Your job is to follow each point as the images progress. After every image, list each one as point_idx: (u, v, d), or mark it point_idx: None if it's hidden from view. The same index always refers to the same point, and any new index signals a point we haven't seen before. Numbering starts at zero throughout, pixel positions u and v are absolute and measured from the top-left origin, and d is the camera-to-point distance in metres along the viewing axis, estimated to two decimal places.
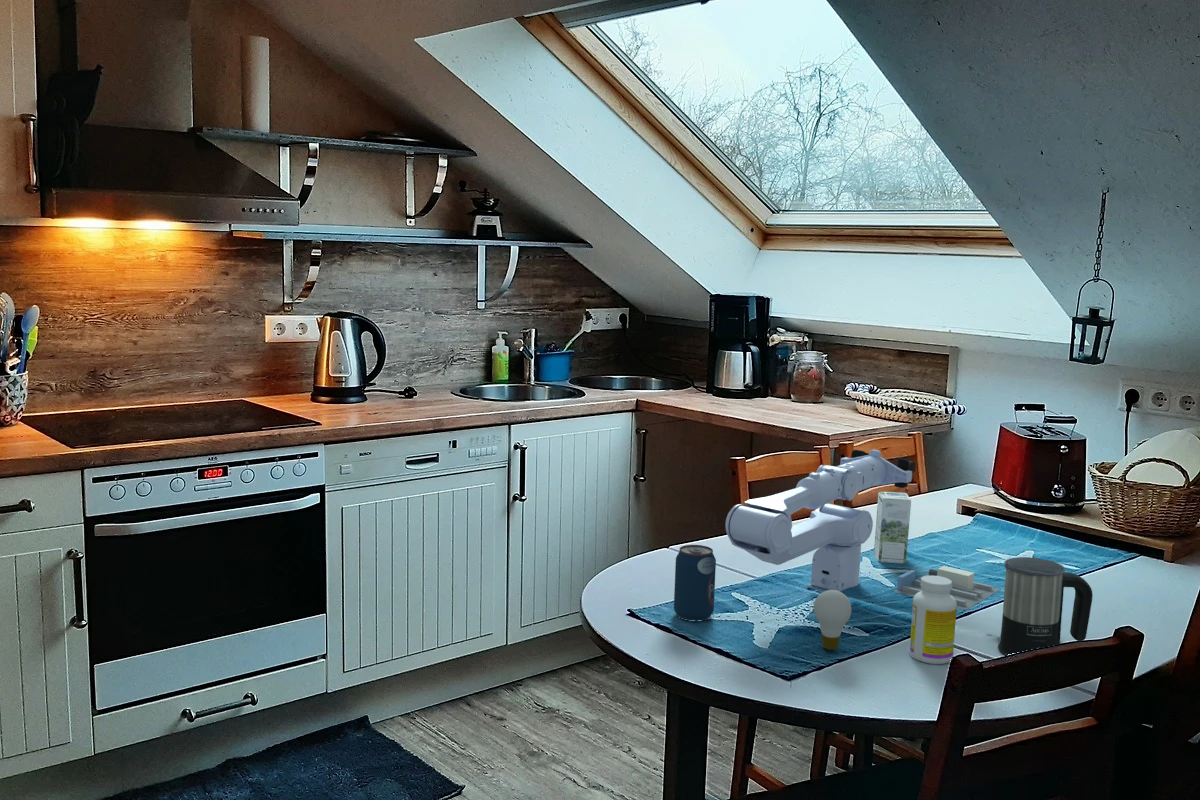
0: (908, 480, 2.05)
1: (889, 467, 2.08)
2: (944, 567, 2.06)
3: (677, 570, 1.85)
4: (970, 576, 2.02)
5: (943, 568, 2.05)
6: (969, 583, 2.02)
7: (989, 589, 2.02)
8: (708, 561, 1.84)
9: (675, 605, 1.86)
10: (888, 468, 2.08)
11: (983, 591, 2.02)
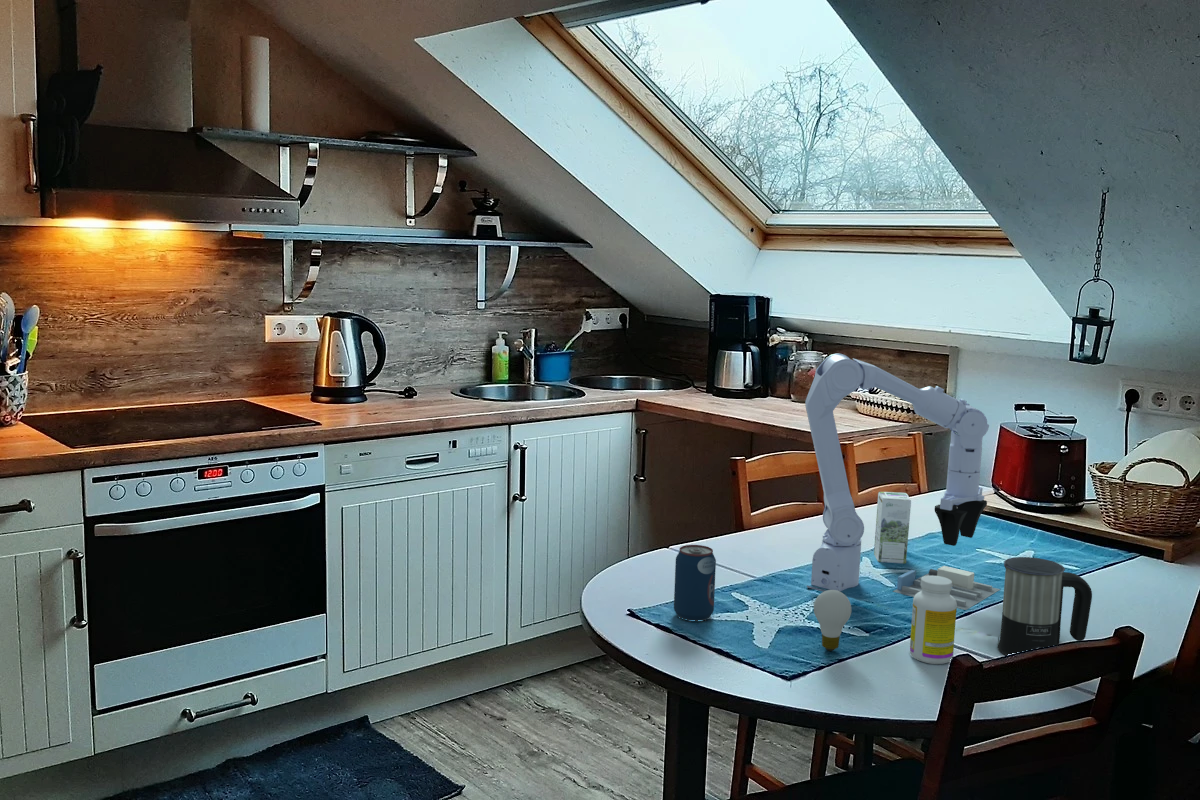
0: (942, 501, 1.97)
1: None
2: (944, 567, 2.06)
3: (677, 570, 1.85)
4: (970, 576, 2.02)
5: (943, 568, 2.05)
6: (969, 583, 2.02)
7: (989, 589, 2.02)
8: (708, 561, 1.84)
9: (675, 605, 1.86)
10: (960, 498, 1.99)
11: (983, 591, 2.02)
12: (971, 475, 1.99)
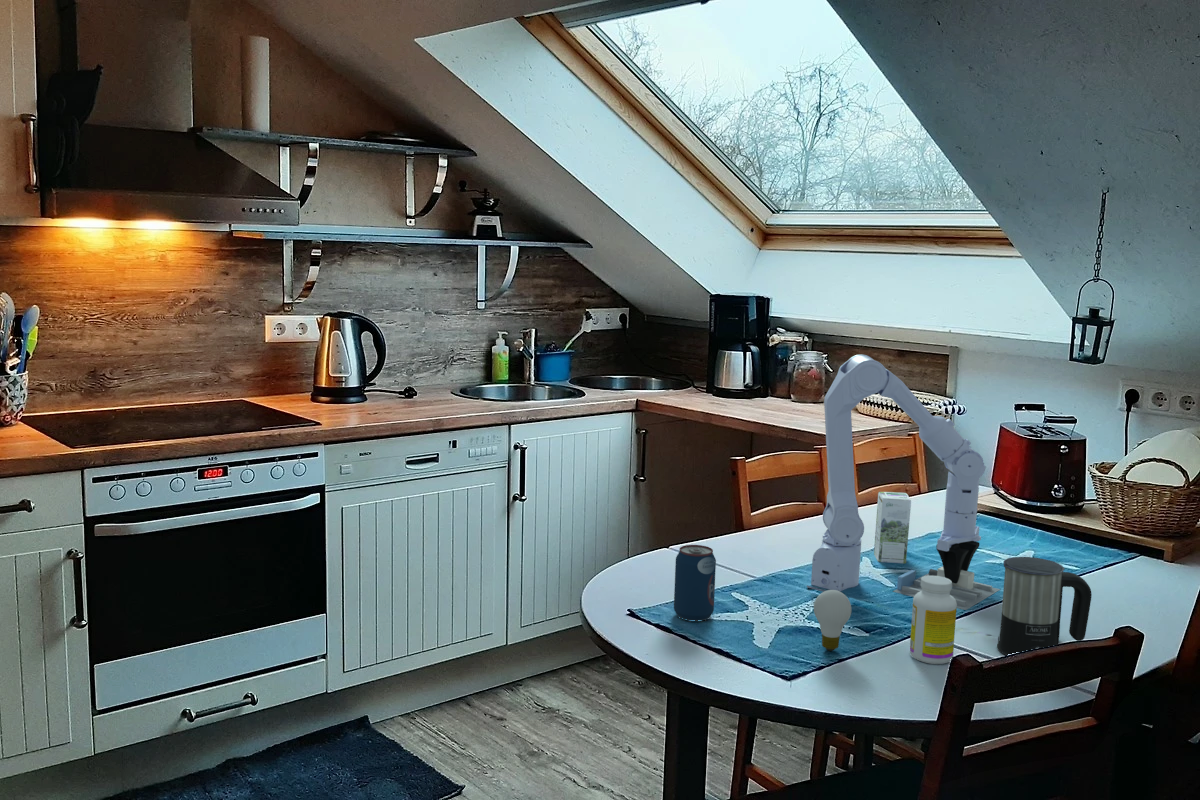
0: (939, 542, 1.98)
1: None
2: None
3: (677, 570, 1.85)
4: (970, 576, 2.02)
5: None
6: (969, 583, 2.02)
7: (989, 589, 2.02)
8: (708, 561, 1.84)
9: (675, 605, 1.86)
10: (957, 538, 2.00)
11: (983, 591, 2.02)
12: (968, 516, 2.00)
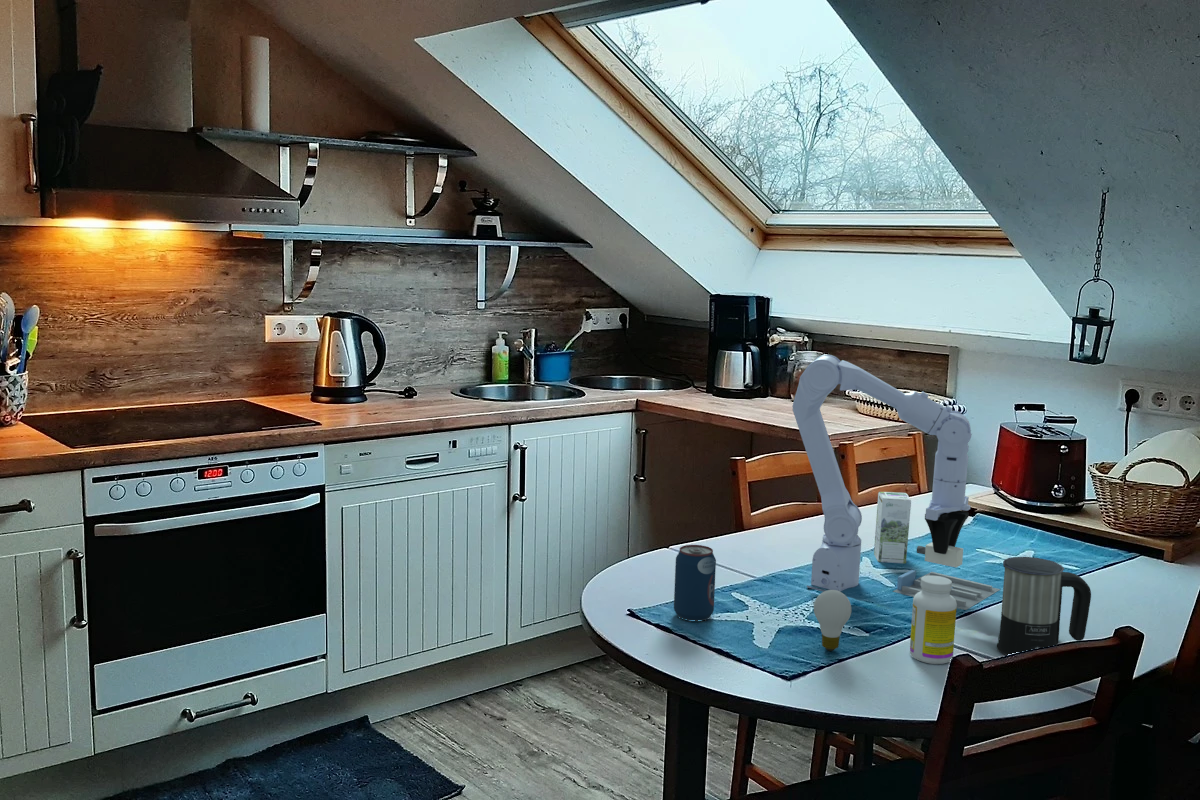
0: (927, 511, 1.92)
1: None
2: (932, 543, 2.01)
3: (677, 570, 1.85)
4: (959, 552, 1.97)
5: (931, 544, 2.00)
6: (958, 559, 1.97)
7: (989, 589, 2.02)
8: (708, 561, 1.84)
9: (675, 605, 1.86)
10: (945, 508, 1.95)
11: (983, 591, 2.02)
12: (957, 484, 1.94)
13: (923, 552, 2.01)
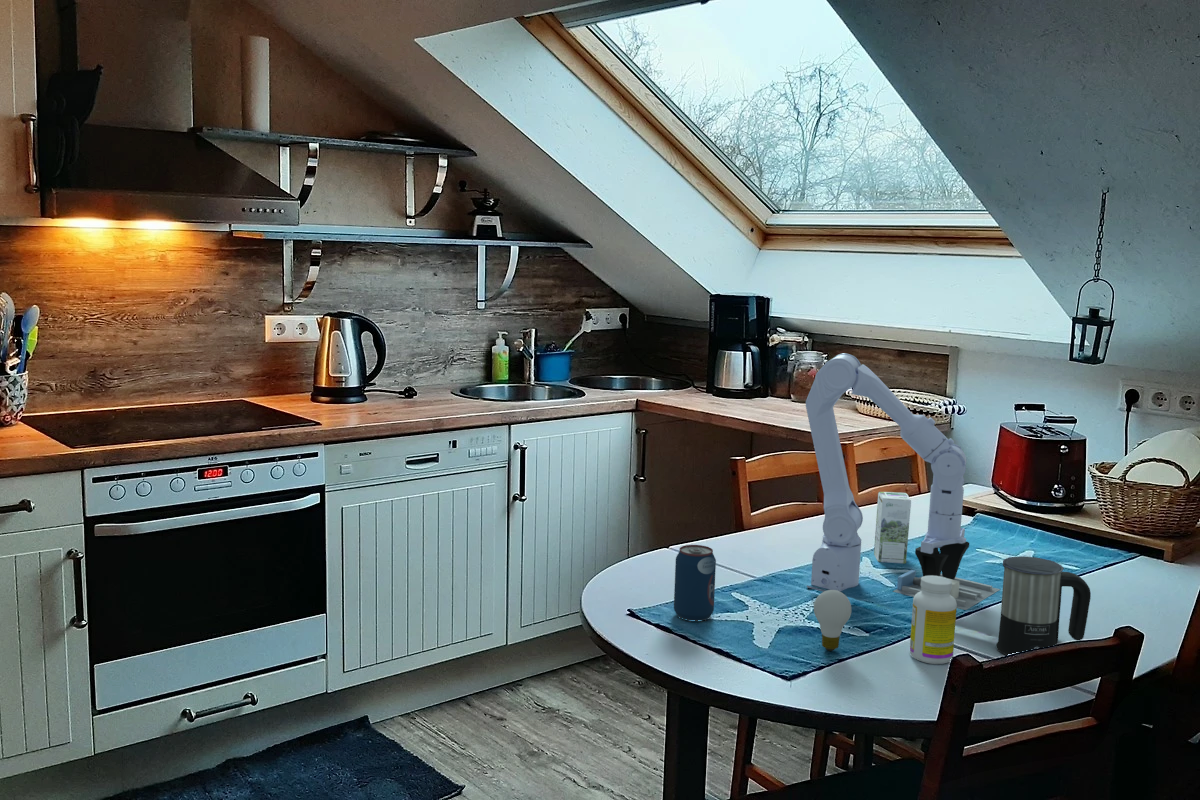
0: (923, 544, 1.93)
1: None
2: None
3: (677, 570, 1.85)
4: (955, 585, 1.97)
5: None
6: (954, 592, 1.97)
7: (989, 589, 2.02)
8: (708, 561, 1.84)
9: (675, 605, 1.86)
10: (941, 541, 1.95)
11: (983, 591, 2.02)
12: (952, 517, 1.94)
13: (919, 584, 2.01)
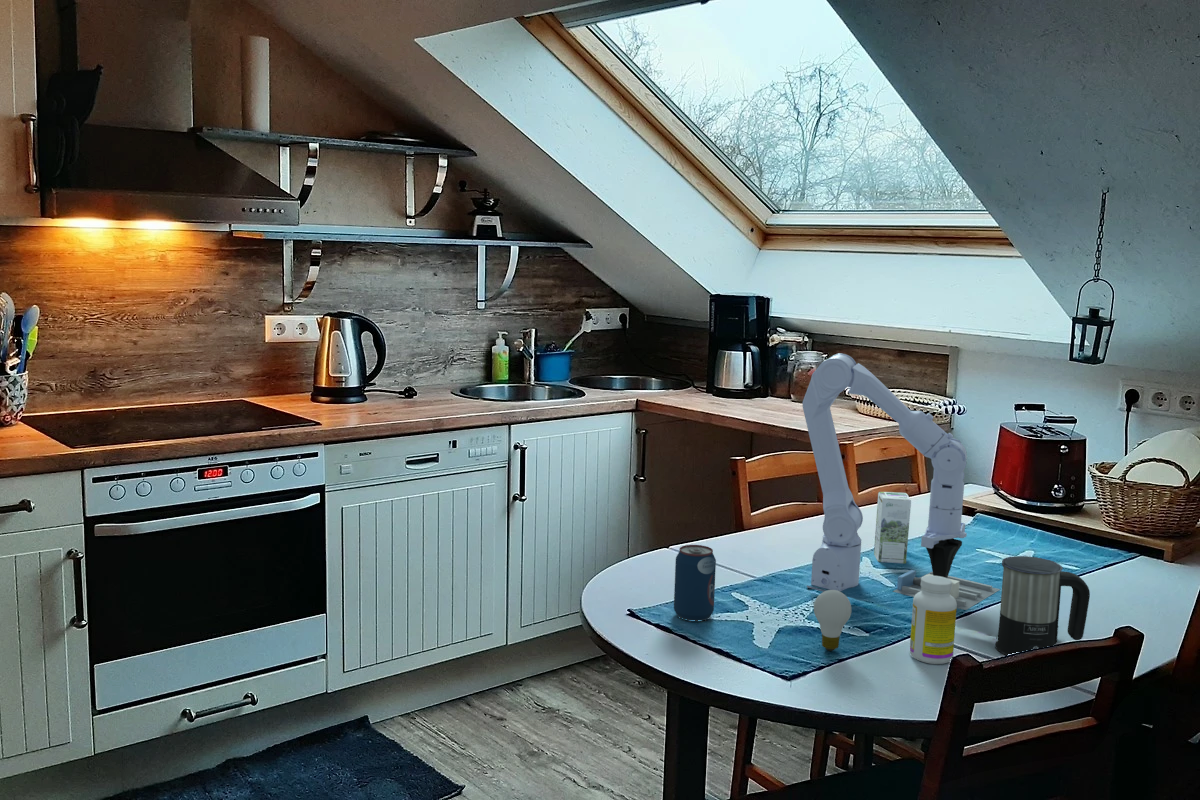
0: (923, 538, 1.93)
1: None
2: (928, 575, 2.01)
3: (677, 570, 1.85)
4: (955, 585, 1.97)
5: None
6: (954, 592, 1.97)
7: (989, 589, 2.02)
8: (708, 561, 1.84)
9: (675, 605, 1.86)
10: (941, 535, 1.95)
11: (983, 591, 2.02)
12: (953, 512, 1.94)
13: (919, 584, 2.01)
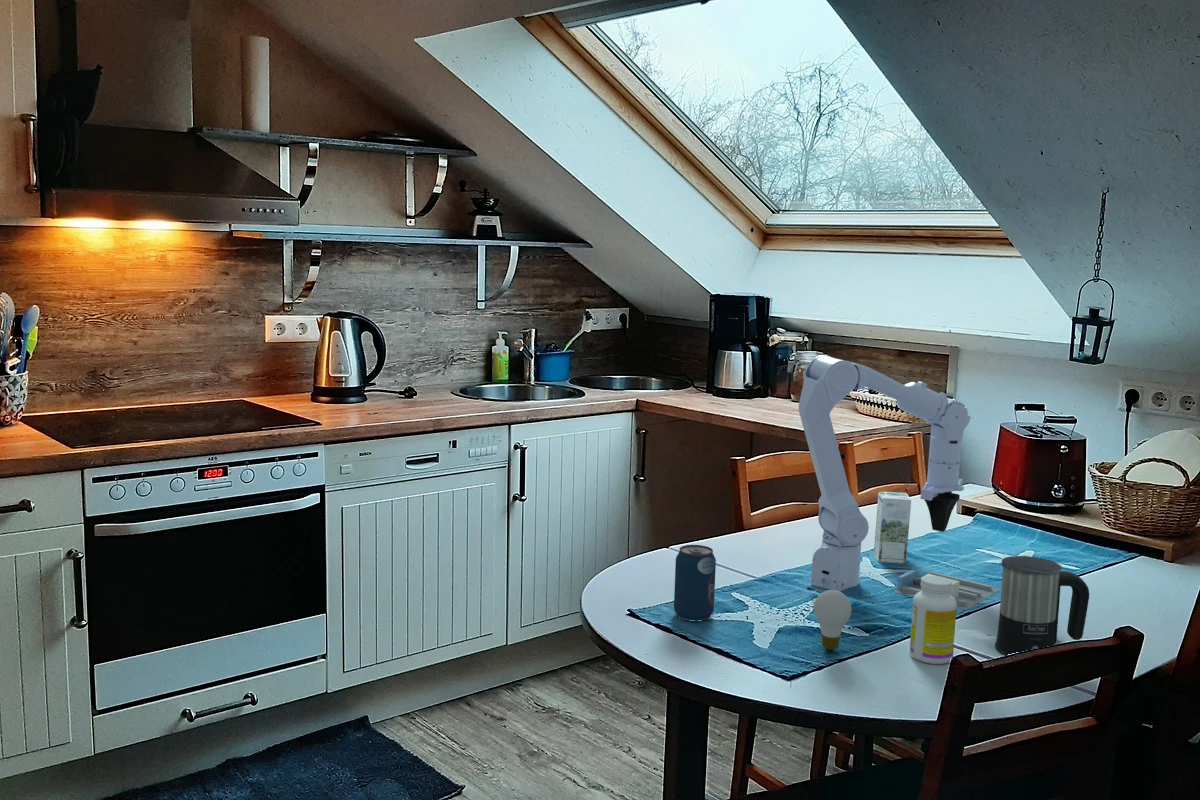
0: (922, 491, 2.02)
1: None
2: (928, 575, 2.01)
3: (677, 570, 1.85)
4: (955, 585, 1.97)
5: None
6: (954, 592, 1.97)
7: (989, 589, 2.02)
8: (708, 561, 1.84)
9: (675, 605, 1.86)
10: (940, 488, 2.04)
11: (983, 591, 2.02)
12: (951, 466, 2.04)
13: (919, 584, 2.01)
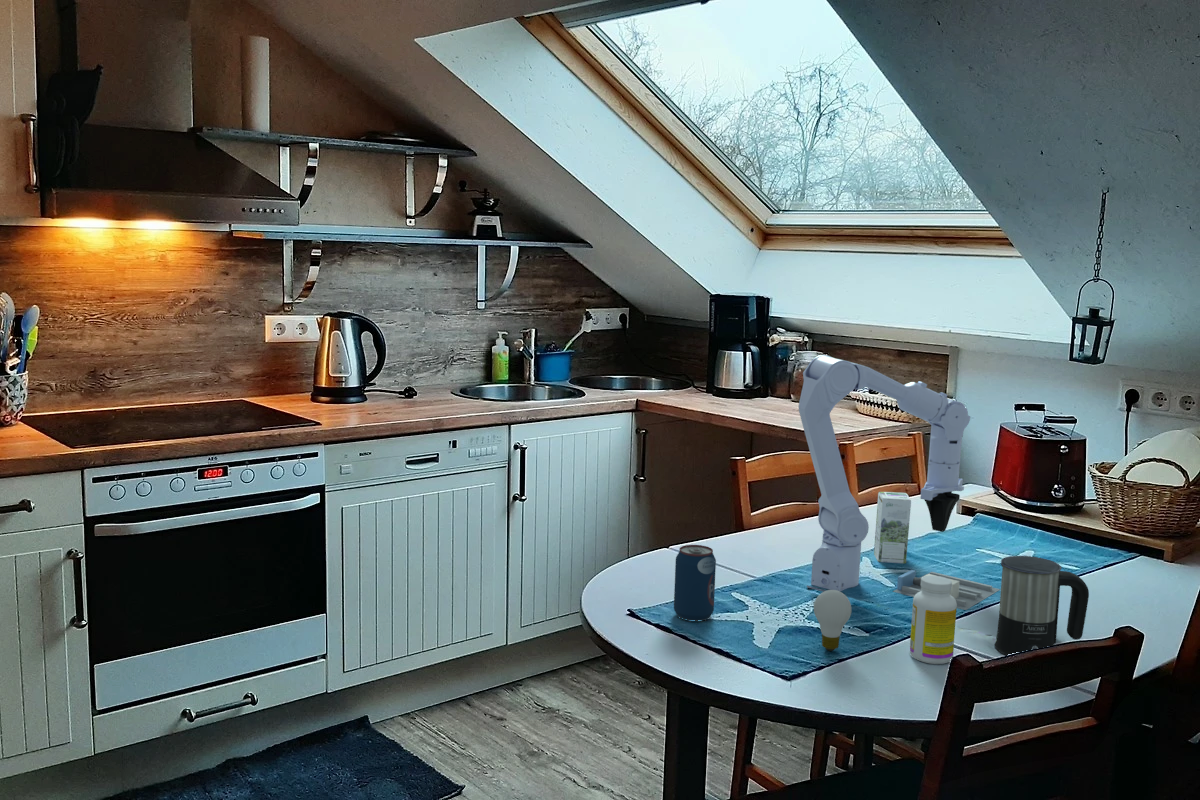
0: (922, 491, 2.02)
1: None
2: (928, 575, 2.01)
3: (677, 570, 1.85)
4: (955, 585, 1.97)
5: None
6: (954, 592, 1.97)
7: (989, 589, 2.02)
8: (708, 561, 1.84)
9: (675, 605, 1.86)
10: (940, 488, 2.04)
11: (983, 591, 2.02)
12: (951, 466, 2.04)
13: (919, 584, 2.01)
